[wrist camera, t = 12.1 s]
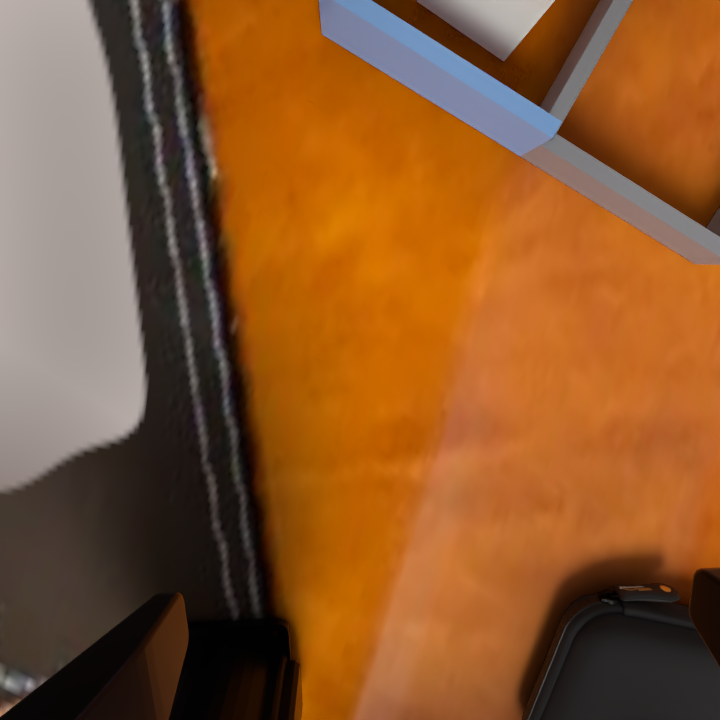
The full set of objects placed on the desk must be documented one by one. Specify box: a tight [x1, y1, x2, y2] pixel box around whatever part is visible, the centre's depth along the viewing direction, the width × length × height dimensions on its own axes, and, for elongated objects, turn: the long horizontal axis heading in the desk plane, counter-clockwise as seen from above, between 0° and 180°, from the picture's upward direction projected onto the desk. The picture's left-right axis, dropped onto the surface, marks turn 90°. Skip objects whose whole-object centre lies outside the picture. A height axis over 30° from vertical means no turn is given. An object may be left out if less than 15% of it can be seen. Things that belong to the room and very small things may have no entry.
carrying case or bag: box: [522, 583, 720, 720], centre depth 24 cm, size 11×3×15 cm
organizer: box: [319, 0, 720, 265], centre depth 17 cm, size 18×9×3 cm, turn 62°
